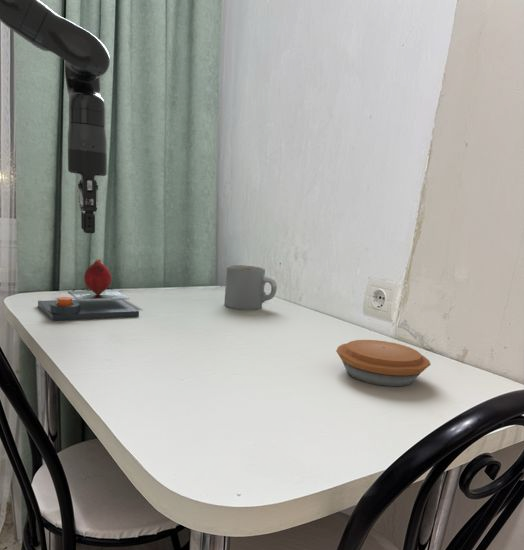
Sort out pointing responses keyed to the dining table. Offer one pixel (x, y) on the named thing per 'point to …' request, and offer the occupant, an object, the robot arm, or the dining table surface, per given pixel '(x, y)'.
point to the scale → (87, 310)
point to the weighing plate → (97, 295)
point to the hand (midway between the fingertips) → (87, 231)
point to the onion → (98, 277)
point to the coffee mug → (247, 287)
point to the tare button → (64, 301)
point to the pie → (382, 362)
